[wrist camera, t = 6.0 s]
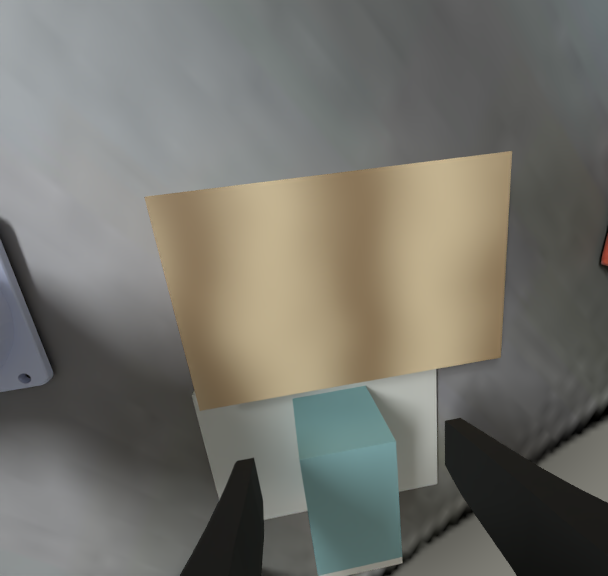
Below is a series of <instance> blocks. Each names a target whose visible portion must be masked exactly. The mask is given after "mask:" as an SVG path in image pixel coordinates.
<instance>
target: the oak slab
mask: <svg viewBox="0 0 608 576" xmlns="http://www.w3.org/2000/svg"><path fill="white" fill-rule="evenodd" d="M511 159H512V151H510V152H502V153H493V154H485V155H477V156H469V157H461V158H453V159H445V160H437V161H429V162H421V163H413V164H405V165H397V166H389V167H381V168H373V169H365V170H357V171H349V172H341V173H333V174H325V175H317V176H309V177H301V178H292V179H284V180H276V181H268V182H260V183H252V184H244V185H236V186H228V187H220V188H212V189H204V190H196V191H188V192H180V193H172V194H164V195H156V196H148V197H145V201H146V205H147V209H148V213H149V217H150V220H151V224H152V228H153V232H154V236H155V240H156V244H157V247H158V251H159V255H160V259H161V263H162V267H163V271H164V275H165V278H166V282H167V286H168V290H169V294H170V298H171V302H172V305H173V309H174V313H175V317H176V321H177V325H178V329H179V333H180V336H181V340H182V344H183V348H184V352H185V356H186V360H187V363H188V367H189V371H190V375H191V379H192V383H193V387H194V390H195V394H196V398H197V402H198V406H199V410H200V411H202V410H208V409H214V408H219V407H225V406H231V405H236V404H242V403H247V402H253V401H259V400H264V399H270V398H276V397H281V396H287V395H292V394H298V393H304V392H309V391H315V390H321V389H326V388H332V387H337V386H343V385H349V384H354V383H360V382H366V381H371V380H377V379H382V378H388V377H394V376H399V375H405V374H411V373H416V372H422V371H427V370H433V369H439V368H444V367H450V366H456V365H461V364H467V363H472V362H478V361H484V360H489V359H495V358H500V357H501V342H502V324H503V306H504V287H505V269H506V251H507V233H508V214H509V196H510V178H511Z"/></svg>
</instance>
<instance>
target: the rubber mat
mask: <svg viewBox="0 0 608 576" xmlns="http://www.w3.org/2000/svg"><path fill="white" fill-rule="evenodd" d="M361 386H366V387H367V389H368V391H369V393H370V395H371V396H372V398H373V400H374V402H375V404H376V406H377V407H378V409H379V411H380V413H381V415H382V417H383V418H384V420H385V422H386V424H387V426H388V428H389V429H390V431H391V433H392V435H393V437H394V439H395V440H396V451H397V469H398V488H399V492H401V491H406V490H411V489H415V488H420V487H425V486H430V485H435V484H437V397H436V369H433V370H427V371H422V372H416V373H411V374H405V375H399V376H394V377H388V378H382V379H377V380H371V381H366V382H360V383H354V384H349V385H343V386H337V387H332V388H326V389H321V390H315V391H309V392H304V393H298V394H292V395H287V396H281V397H276V398H270V399H264V400H259V401H253V402H247V403H242V404H236V405H231V406H225V407H219V408H214V409H208V410H202V411H200V410H199V406H198V402H197V398H196V394H195V391H194V392H193V394H192V399H193V403H194V406H195V410H196V414H197V418H198V422H199V425H200V429H201V433H202V437H203V441H204V444H205V448H206V452H207V456H208V460H209V464H210V467H211V471H212V475H213V479H214V483H215V486H216V490H217V494H218V498H219V500H220V498H221V495H222V493H223V491H224V489H225V486H226V484H227V482H228V479H229V477H230V474H231V472H232V469H233V467H234V464H235V463H236V462H237V461H239V460H244V459H249V458H254V460H255V465H256V469H257V474H258V479H259V483H260V488H261V493H262V498H263V510H264V520H266V519H271V518H276V517H280V516H285V515H290V514H295V513H300V512H304V511H308V510H307V504H306V498H305V492H304V485H303V479H302V473H301V467H300V461H299V452H298V443H297V435H296V426H295V417H294V408H293V400H292V399H293V398H299V397H305V396H310V395H316V394H321V393H327V392H333V391H338V390H344V389H349V388H355V387H361Z"/></svg>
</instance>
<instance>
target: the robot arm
mask: <svg viewBox="0 0 608 576" xmlns="http://www.w3.org/2000/svg"><path fill="white" fill-rule="evenodd" d="M25 374H28V375H29V376H30V377H31V379H30V378H28V377H27V376H26V375H25ZM52 377H53V370H52V368H51V365H50V363H49V360H48V358H47V355H46V353H45V350H44V348H43V345H42V343H41V340H40V338H39V335H38V333H37V330H36V328H35V325H34V323H33V320H32V318H31V315H30V312H29V310H28V307H27V305H26V302H25V300H24V297H23V295H22V292H21V290H20V287H19V285H18V282H17V280H16V277H15V275H14V272H13V270H12V267H11V265H10V262H9V260H8V257H7V255H6V252H5V249H4V247H3V244H2V242H1V239H0V392H4V391H10V390H16V389H22V388H29V387H35V386H41V385H43V384H45V383H47V382H48V381H49V380H50V379H52ZM445 465H446V467H447V469H448V471H449V473H450V475H451V477H452V479H453V480H454V482H455V484H456V486H457V488H458V489H459V491H460V493H461V495H462V496H463V498H464V499H465V501H466V502H467V504H468V505H469V506H470V508H471V509H472V511H473V512H474V514H475V515H476V517H477V518H478V519H479V521H480V522H481V524H482V525H483V527H484V528H485V530H486V531H487V533H488V534H489V535H490V537H491V538H492V540H493V541H494V543H495V544H496V546H497V547H498V548H499V550H500V551H501V553H502V554H503V556H504V557H505V559H506V560H507V561H508V563H509V564H510V566H511V567H512V569H513V570H514V572H515V573H516V575H517V576H608V503H607V502H604V501H602V500H601V499H599V498H597V497H595V496H593V495H591V494H589V493H586V492H585V491H583V490H581V489H579V488H577V487H575V486H573V485H571V484H569V483H568V482H566V481H564V480H562V479H560V478H559V477H557V476H555V475H553V474H551V473H550V472H548V471H546V470H544V469H542V468H541V467H539V466H537V465H536V464H534V463H532V462H530V461H529V460H527V459H525V458H524V457H522V456H520V455H519V454H517V453H516V452H514V451H512V450H511V449H509V448H507V447H506V446H504V445H503V444H501V443H499V442H498V441H496V440H495V439H493V438H492V437H490V436H488V435H487V434H485V433H484V432H482V431H481V430H479V429H477V428H476V427H474V426H473V425H471V424H470V423H468V422H466V421H465V420H463V419H461V418H458V419H453V420H447V421H445ZM263 542H264V510H263V498H262V493H261V488H260V483H259V479H258V474H257V469H256V465H255V460H254V458H249V459H244V460H239V461H237V462H236V463H235V464H234V467H233V469H232V472H231V474H230V477H229V479H228V482H227V484H226V486H225V489H224V491H223V493H222V495H221V498H220V500H219V502H218V504H217V506H216V508H215V510H214V512H213V514H212V516H211V519H210V521H209V523H208V525H207V527H206V529H205V531H204V532H203V534H202V536H201V538H200V540H199V542H198V544H197V546H196V547H195V549H194V551H193V553H192V555H191V557H190V558H189V560H188V562H187V564H186V565H185V567H184V569H183V571H182V572H181V574H180V576H261V570H262V556H263Z"/></svg>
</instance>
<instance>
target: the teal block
mask: <svg viewBox="0 0 608 576" xmlns="http://www.w3.org/2000/svg"><path fill="white" fill-rule="evenodd" d="M292 400H293V408H294V417H295V426H296V435H297V443H298V452H299V461H300V467H301V473H302V479H303V485H304V492H305V498H306V504H307V510H308V516H309V522H310V529H311V535H312V541H313V547H314V553H315V559H316V566H317V572H318V576H348V575H352V574H357V573H361V572H365V571H370V570H374V569H379V568H383V567H388V566H392V565H396V564H401V563H403V562H402V544H401V525H400V507H399V488H398V469H397V451H396V440H395V439H394V437H393V435H392V433H391V431H390V429H389V428H388V426H387V424H386V422H385V420H384V418H383V417H382V415H381V413H380V411H379V409H378V407H377V406H376V404H375V402H374V400H373V398H372V396H371V395H370V393H369V391H368V389H367V387H366V386H361V387H355V388H349V389H344V390H338V391H333V392H327V393H321V394H316V395H310V396H305V397H299V398H293V399H292Z"/></svg>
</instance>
